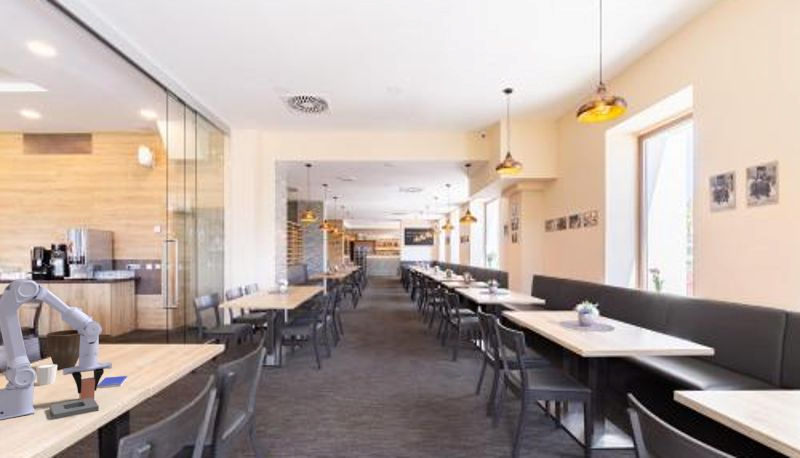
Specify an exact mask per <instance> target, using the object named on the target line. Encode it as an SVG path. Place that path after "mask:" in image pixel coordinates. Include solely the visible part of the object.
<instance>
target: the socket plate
mask: <svg viewBox="0 0 800 458" xmlns="http://www.w3.org/2000/svg"><path fill="white" fill-rule="evenodd" d="M99 409H100V408H99V404H98V403H97V401H96V400H95V398H94V399H93V397H92V398H86V399H81V400H80V399H75V400H72V401H71V400H70V401H65V402H60V403H59V402H58V403H53V404H49V411H50V413H51V415H52V416H51V417H52V419H53V420H58V419H62V418H68V417H72V416H76V415H77V416H78V415H82V414H88V413H92V412H97V411H99Z"/></svg>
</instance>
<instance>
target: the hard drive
mask: <svg viewBox="0 0 800 458" xmlns="http://www.w3.org/2000/svg"><path fill="white" fill-rule="evenodd" d="M127 379H128V376H127V375H123V376H122V375H121V376H107V377H104V378H103V379H102V380H101V381H99V383H98V385H97V389H105V388H115V387H116V388H117V387H118V388H119V387H121V386H122V385H123V384H124V383H125V382H126V380H127Z"/></svg>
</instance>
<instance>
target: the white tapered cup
mask: <svg viewBox="0 0 800 458" xmlns="http://www.w3.org/2000/svg"><path fill="white" fill-rule="evenodd" d="M35 369H36V370H35V372H36V385H38V386H47V385H52V384H55V383H56V377H57V371H58V369H57V364H53V363H49V364H42V365H38V366H36V367H35Z"/></svg>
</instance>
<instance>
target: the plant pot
mask: <svg viewBox="0 0 800 458" xmlns="http://www.w3.org/2000/svg"><path fill="white" fill-rule="evenodd" d="M80 335H81V334H79V333H78V330H76V329H68V330H67V329H66V330H56V331H51V332H47V333H46V340H47V341H46V342H47V347H48V353H49V356H50V359H51V363H52V364H57V370H63V369H65V368H71V367H76V365H77V362H79V348H80ZM83 336H84V335H83Z"/></svg>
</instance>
